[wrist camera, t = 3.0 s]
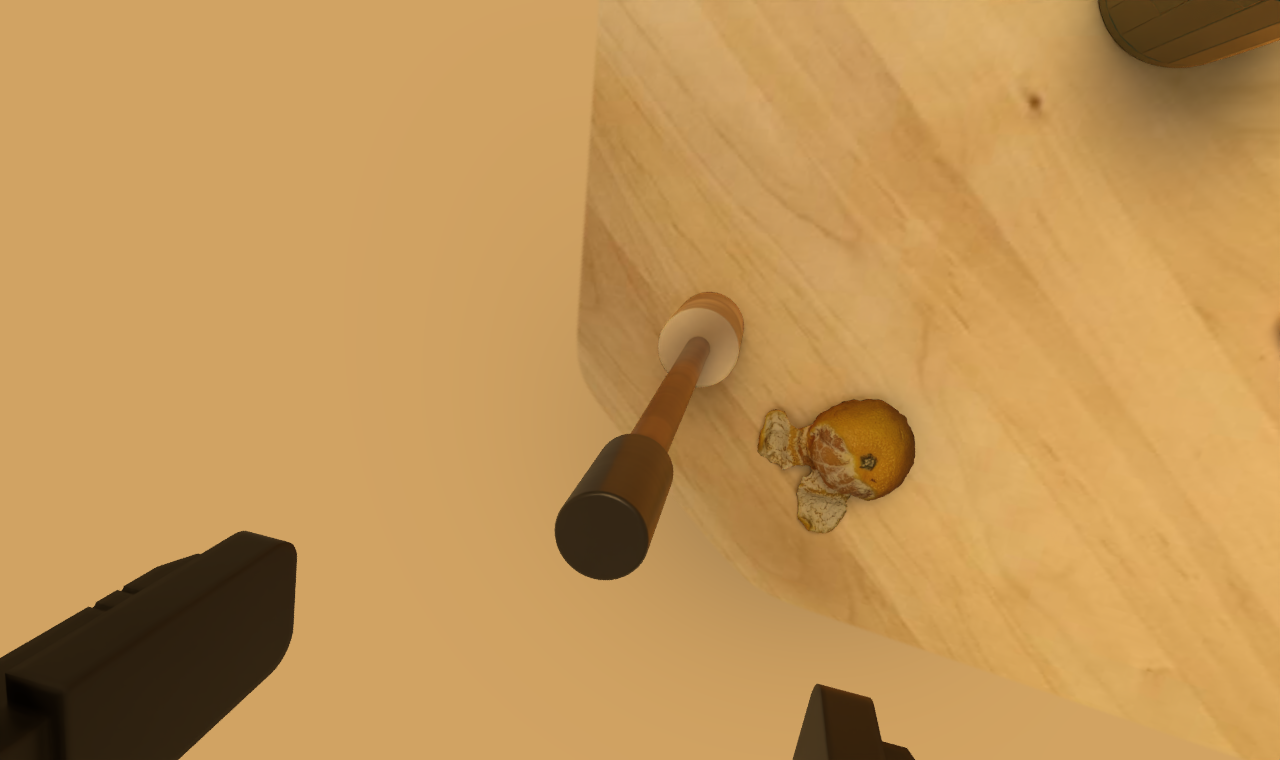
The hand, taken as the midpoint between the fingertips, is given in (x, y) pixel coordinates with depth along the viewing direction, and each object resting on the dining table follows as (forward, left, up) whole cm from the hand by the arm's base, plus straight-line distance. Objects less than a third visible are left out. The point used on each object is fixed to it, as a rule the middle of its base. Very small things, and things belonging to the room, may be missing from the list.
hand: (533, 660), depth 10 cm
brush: (0, 0, -32) cm, 32 cm away
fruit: (+10, -1, -32) cm, 34 cm away
